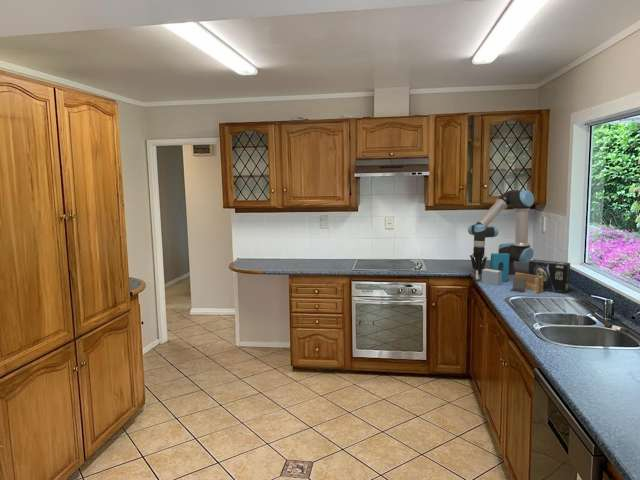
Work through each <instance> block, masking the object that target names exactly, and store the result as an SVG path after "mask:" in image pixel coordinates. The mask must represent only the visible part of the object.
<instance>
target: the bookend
mask: <svg viewBox="0 0 640 480" xmlns="http://www.w3.org/2000/svg"><path fill="white" fill-rule="evenodd" d="M525 288H526V280H524V279H518V278H515V277H512V288H511V289H510V290H509V291H510V292H516V293H519V294H523V293H526V289H525Z"/></svg>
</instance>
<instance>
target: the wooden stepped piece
mask: <svg viewBox="0 0 640 480" xmlns="http://www.w3.org/2000/svg"><path fill="white" fill-rule="evenodd" d="M514 278H518V279H524V280H526V288H525V290H528V291H529V290H530V291H533V294H534V295H537V294H539V293H540V294H541V293H543V292H544V291H543V284H544V277H543V276H537V275H530V274H528V273H523V272H517V271H516V273H515V274H514Z"/></svg>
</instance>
